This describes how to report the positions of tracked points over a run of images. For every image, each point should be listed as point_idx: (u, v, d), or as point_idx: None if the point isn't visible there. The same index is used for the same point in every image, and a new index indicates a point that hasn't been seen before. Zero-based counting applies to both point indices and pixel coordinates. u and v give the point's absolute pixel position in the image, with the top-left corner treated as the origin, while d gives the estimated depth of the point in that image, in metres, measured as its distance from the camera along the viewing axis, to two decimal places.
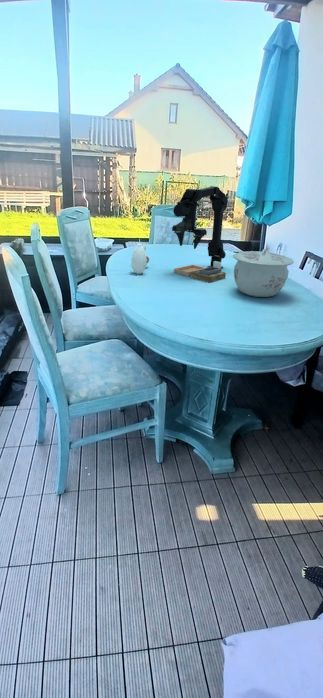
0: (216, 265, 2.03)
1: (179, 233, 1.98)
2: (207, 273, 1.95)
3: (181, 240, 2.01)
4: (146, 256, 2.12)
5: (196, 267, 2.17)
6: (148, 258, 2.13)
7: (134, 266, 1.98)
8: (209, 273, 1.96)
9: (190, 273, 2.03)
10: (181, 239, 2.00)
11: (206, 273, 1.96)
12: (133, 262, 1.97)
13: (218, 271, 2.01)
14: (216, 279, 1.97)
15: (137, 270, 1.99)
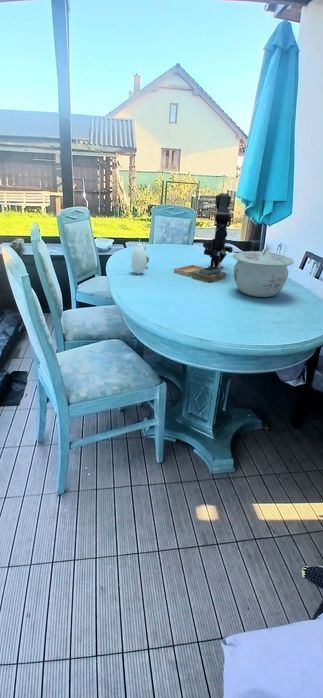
0: None
1: None
2: (207, 273, 1.95)
3: None
4: (146, 256, 2.12)
5: (196, 267, 2.17)
6: (148, 258, 2.13)
7: (134, 266, 1.98)
8: (209, 273, 1.96)
9: (190, 273, 2.03)
10: None
11: (206, 273, 1.96)
12: (133, 262, 1.97)
13: (218, 271, 2.01)
14: (216, 279, 1.97)
15: (137, 270, 1.99)
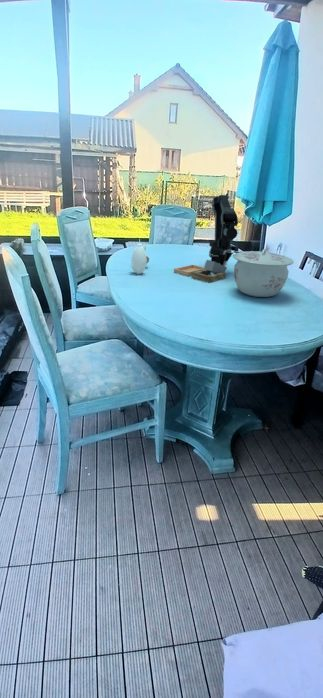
0: None
1: None
2: (213, 263, 1.98)
3: None
4: (146, 256, 2.12)
5: (196, 267, 2.17)
6: (148, 258, 2.13)
7: (134, 266, 1.98)
8: (215, 264, 1.98)
9: (190, 273, 2.03)
10: (224, 259, 2.07)
11: (212, 263, 1.98)
12: (133, 262, 1.97)
13: (223, 268, 2.04)
14: (216, 279, 1.97)
15: (137, 270, 1.99)
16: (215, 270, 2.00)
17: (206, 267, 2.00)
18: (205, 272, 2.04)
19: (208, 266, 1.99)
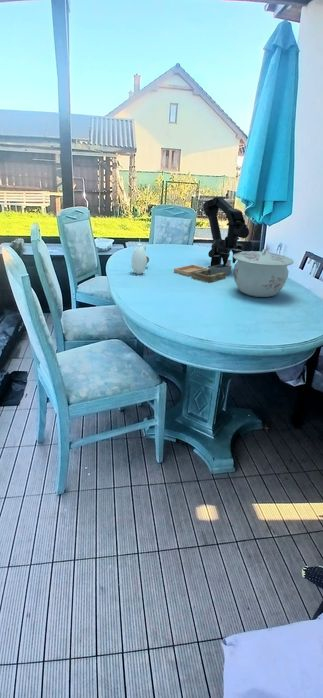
0: (226, 263, 2.10)
1: (233, 251, 2.14)
2: (217, 270, 2.02)
3: (233, 258, 2.14)
4: (146, 256, 2.12)
5: (196, 267, 2.17)
6: (148, 258, 2.13)
7: (134, 266, 1.98)
8: (219, 270, 2.03)
9: (190, 273, 2.03)
10: None
11: (216, 270, 2.03)
12: (133, 262, 1.97)
13: (228, 268, 2.08)
14: (216, 279, 1.97)
15: (137, 270, 1.99)
16: None
17: (211, 274, 2.06)
18: (205, 272, 2.04)
19: (213, 273, 2.04)
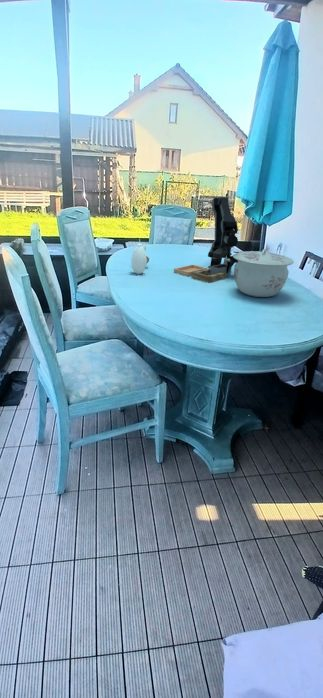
0: (226, 262, 2.10)
1: (217, 259, 2.08)
2: (217, 270, 2.02)
3: None
4: (146, 256, 2.12)
5: (196, 267, 2.17)
6: (148, 258, 2.13)
7: (134, 266, 1.98)
8: (219, 270, 2.02)
9: (190, 273, 2.03)
10: None
11: (216, 270, 2.02)
12: (133, 262, 1.97)
13: None
14: (216, 279, 1.97)
15: (137, 270, 1.99)
16: None
17: (211, 274, 2.05)
18: (205, 272, 2.04)
19: (213, 273, 2.04)
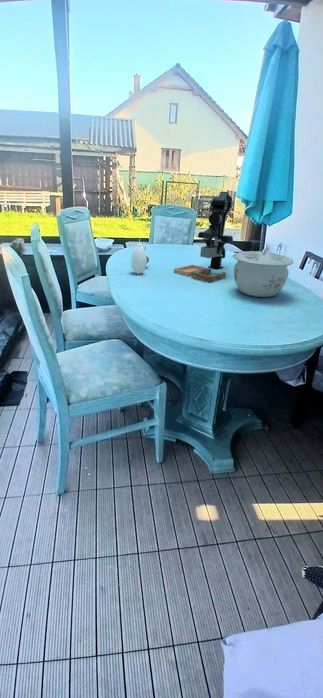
0: (217, 243, 2.05)
1: (207, 240, 2.04)
2: (208, 250, 1.98)
3: None
4: (146, 256, 2.12)
5: (196, 267, 2.17)
6: (148, 258, 2.13)
7: (134, 266, 1.98)
8: (210, 250, 1.98)
9: (190, 273, 2.03)
10: None
11: (207, 250, 1.98)
12: (133, 262, 1.97)
13: None
14: (216, 279, 1.97)
15: (137, 270, 1.99)
16: (212, 255, 2.01)
17: (202, 254, 2.01)
18: (205, 272, 2.04)
19: (204, 254, 2.00)
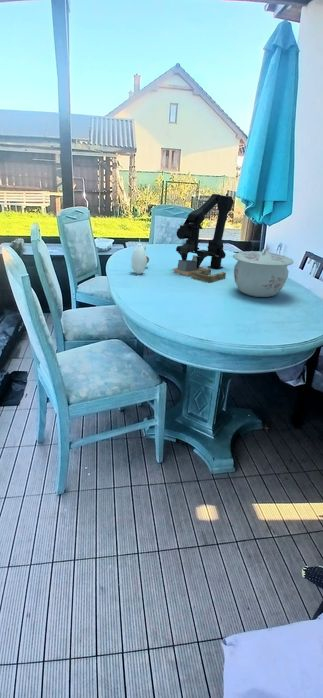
0: (195, 259, 2.10)
1: (183, 253, 2.09)
2: (185, 263, 2.02)
3: None
4: (146, 256, 2.12)
5: None
6: (148, 258, 2.13)
7: (134, 266, 1.98)
8: (187, 263, 2.02)
9: (190, 273, 2.03)
10: (184, 259, 2.11)
11: (184, 263, 2.02)
12: (133, 262, 1.97)
13: (196, 264, 2.09)
14: (216, 279, 1.97)
15: (137, 270, 1.99)
16: (188, 269, 2.05)
17: (179, 267, 2.05)
18: (205, 272, 2.04)
19: (181, 266, 2.04)
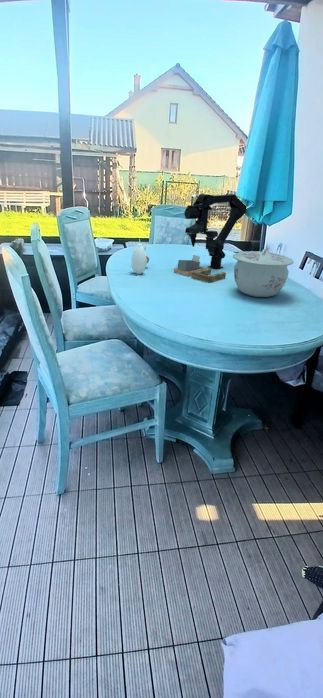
0: (195, 259, 2.10)
1: (192, 235, 2.13)
2: (185, 263, 2.02)
3: (193, 241, 2.15)
4: (146, 256, 2.12)
5: None
6: (148, 258, 2.13)
7: (134, 266, 1.98)
8: (187, 263, 2.02)
9: (190, 273, 2.03)
10: (193, 240, 2.15)
11: (184, 263, 2.02)
12: (133, 262, 1.97)
13: (196, 264, 2.09)
14: (216, 279, 1.97)
15: (137, 270, 1.99)
16: (188, 269, 2.05)
17: (179, 267, 2.05)
18: (205, 272, 2.04)
19: (181, 266, 2.04)
